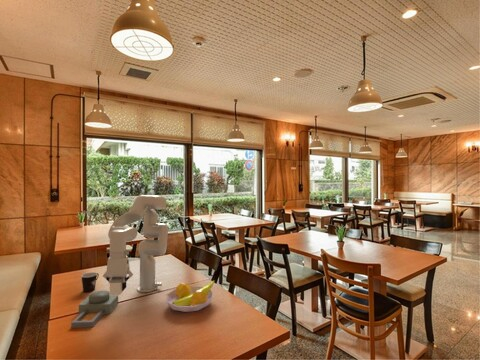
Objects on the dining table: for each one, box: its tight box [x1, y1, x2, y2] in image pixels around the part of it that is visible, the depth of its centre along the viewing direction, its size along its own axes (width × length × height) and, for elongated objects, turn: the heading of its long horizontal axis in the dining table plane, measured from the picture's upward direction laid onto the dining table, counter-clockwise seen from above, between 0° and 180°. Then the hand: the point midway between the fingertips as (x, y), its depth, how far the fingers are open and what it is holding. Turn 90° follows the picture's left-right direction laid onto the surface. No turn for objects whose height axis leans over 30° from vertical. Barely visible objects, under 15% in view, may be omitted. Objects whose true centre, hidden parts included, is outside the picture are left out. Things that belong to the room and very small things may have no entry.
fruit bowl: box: [165, 280, 215, 313], centre depth 150 cm, size 28×27×11 cm
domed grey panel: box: [70, 289, 119, 329], centre depth 138 cm, size 16×24×8 cm
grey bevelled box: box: [109, 277, 124, 296], centre depth 134 cm, size 5×8×7 cm, turn 4°
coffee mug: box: [80, 271, 100, 294], centre depth 169 cm, size 12×9×10 cm
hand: (118, 289), depth 134 cm, fingers closed on grey bevelled box, 5 cm apart
